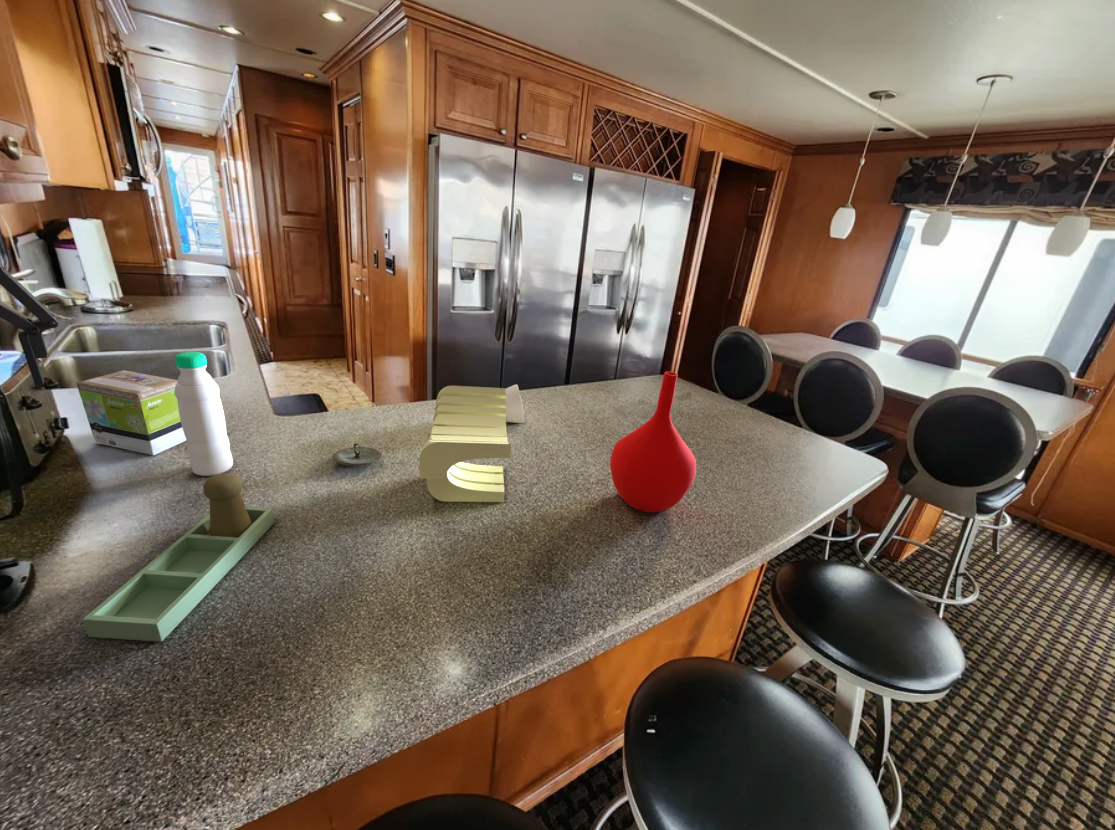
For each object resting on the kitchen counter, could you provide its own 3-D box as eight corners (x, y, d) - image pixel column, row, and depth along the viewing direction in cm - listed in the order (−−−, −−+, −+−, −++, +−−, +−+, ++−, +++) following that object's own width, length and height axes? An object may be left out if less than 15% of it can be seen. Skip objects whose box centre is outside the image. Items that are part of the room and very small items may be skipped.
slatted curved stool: (436, 452, 113) (437, 384, 106) (501, 454, 116) (505, 388, 109) (420, 526, 86) (419, 441, 79) (505, 526, 88) (511, 444, 82)
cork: (258, 534, 78) (248, 479, 74) (216, 549, 74) (203, 491, 70) (247, 518, 82) (237, 464, 78) (206, 531, 77) (193, 475, 73)
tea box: (93, 445, 100) (73, 381, 95) (139, 427, 109) (123, 368, 104) (153, 456, 98) (136, 392, 93) (194, 438, 108) (182, 378, 102)
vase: (595, 509, 97) (616, 375, 86) (615, 472, 113) (635, 355, 102) (682, 534, 92) (716, 396, 81) (690, 491, 108) (719, 371, 97)
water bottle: (240, 468, 98) (219, 355, 88) (202, 481, 92) (175, 361, 83) (224, 457, 101) (202, 347, 92) (186, 469, 95) (158, 352, 86)
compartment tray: (88, 637, 58) (81, 619, 57) (223, 518, 82) (220, 504, 81) (161, 641, 59) (156, 624, 58) (274, 522, 83) (272, 508, 81)
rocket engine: (453, 389, 128) (516, 378, 130) (458, 402, 139) (516, 392, 141) (460, 428, 125) (524, 416, 127) (464, 438, 136) (524, 427, 138)
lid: (332, 479, 100) (331, 462, 97) (332, 449, 107) (331, 433, 104) (384, 475, 105) (384, 459, 102) (380, 447, 112) (380, 431, 109)
